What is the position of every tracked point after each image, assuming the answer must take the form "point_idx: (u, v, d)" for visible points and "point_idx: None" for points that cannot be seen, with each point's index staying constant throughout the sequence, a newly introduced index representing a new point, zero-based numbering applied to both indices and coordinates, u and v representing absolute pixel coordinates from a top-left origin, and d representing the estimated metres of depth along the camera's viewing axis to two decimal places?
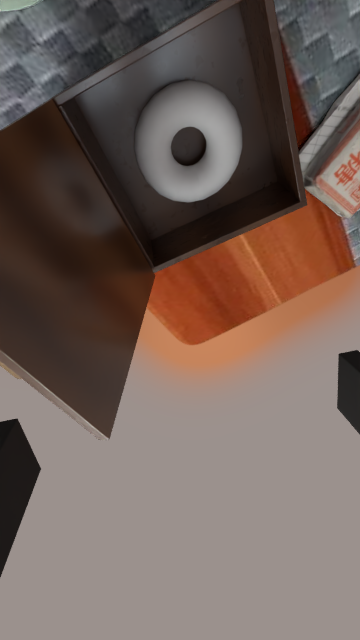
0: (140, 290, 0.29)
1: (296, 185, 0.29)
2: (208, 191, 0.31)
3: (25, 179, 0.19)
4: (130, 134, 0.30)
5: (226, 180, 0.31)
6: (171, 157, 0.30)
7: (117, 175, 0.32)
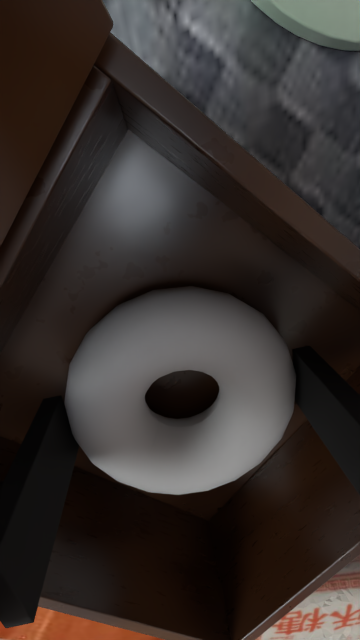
0: None
1: (253, 623, 0.14)
2: (137, 485, 0.14)
3: None
4: (131, 279, 0.14)
5: None
6: (149, 386, 0.13)
7: (38, 293, 0.14)
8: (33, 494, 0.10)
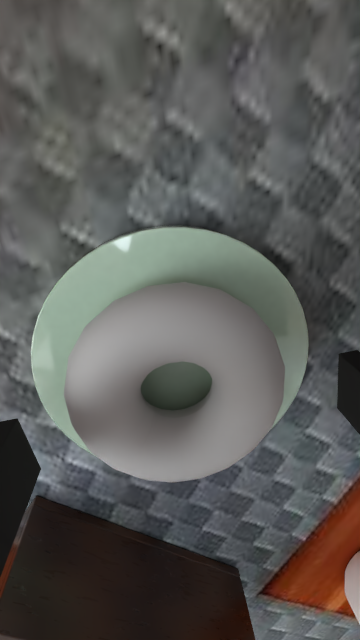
0: None
1: None
2: (133, 473, 0.15)
3: None
4: None
5: (169, 481, 0.15)
6: (144, 377, 0.14)
7: None
8: None
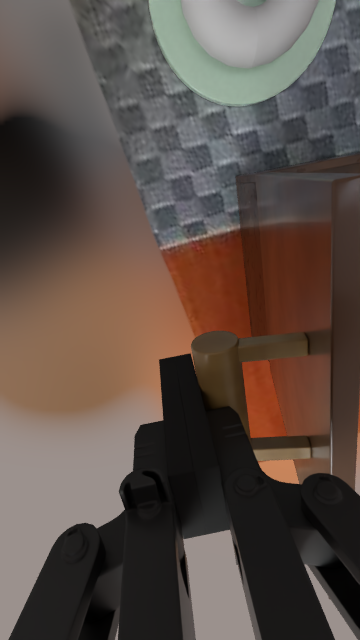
0: None
1: None
2: (265, 40, 0.22)
3: None
4: None
5: (291, 35, 0.22)
6: None
7: None
8: None
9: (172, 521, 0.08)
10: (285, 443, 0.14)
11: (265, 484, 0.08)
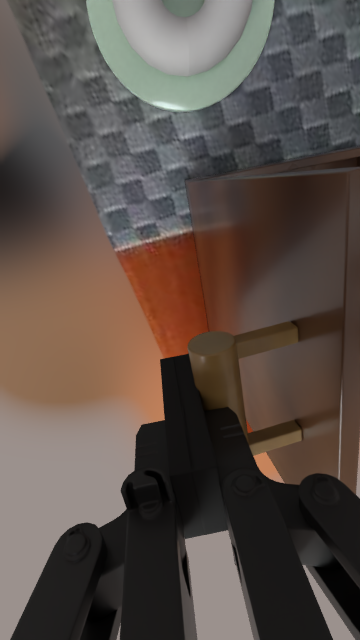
0: None
1: None
2: (197, 50, 0.23)
3: None
4: None
5: (223, 45, 0.23)
6: None
7: None
8: None
9: (174, 521, 0.08)
10: (278, 431, 0.14)
11: (263, 484, 0.08)
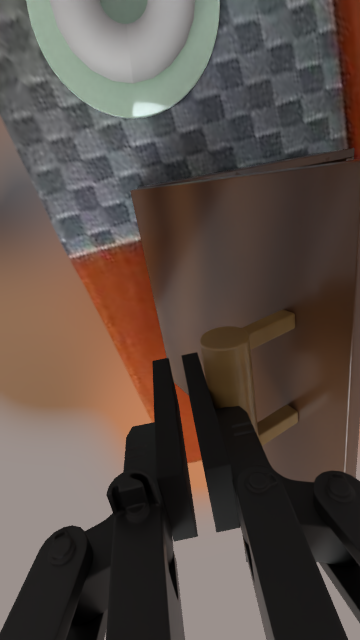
0: None
1: None
2: (138, 58, 0.22)
3: None
4: None
5: (165, 52, 0.23)
6: None
7: None
8: (179, 433, 0.11)
9: (160, 523, 0.08)
10: (278, 417, 0.15)
11: (277, 482, 0.08)
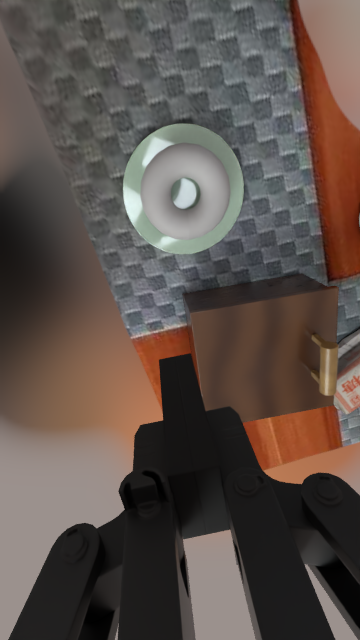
0: None
1: None
2: (194, 231, 0.36)
3: None
4: None
5: (210, 227, 0.36)
6: (170, 195, 0.35)
7: None
8: None
9: (172, 521, 0.08)
10: (318, 374, 0.39)
11: (265, 484, 0.08)
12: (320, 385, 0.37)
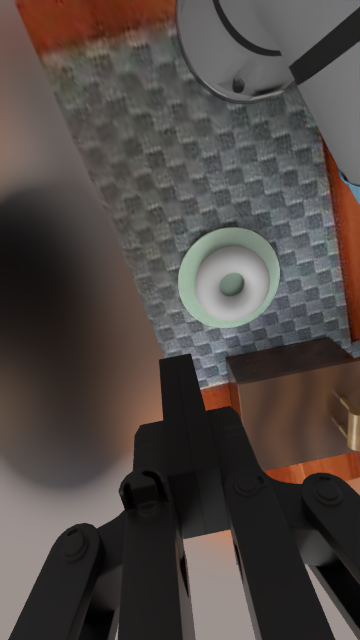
0: None
1: None
2: (239, 316, 0.42)
3: None
4: None
5: (253, 312, 0.43)
6: (219, 288, 0.42)
7: None
8: None
9: (172, 521, 0.08)
10: (345, 429, 0.46)
11: (265, 484, 0.08)
12: (348, 441, 0.44)
